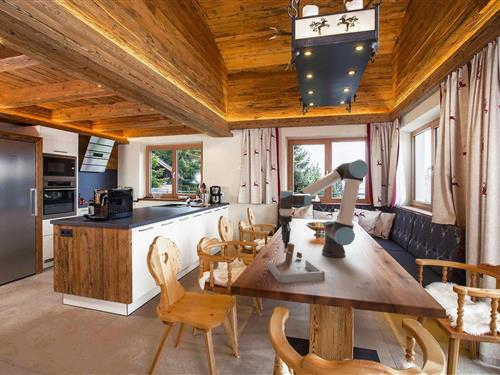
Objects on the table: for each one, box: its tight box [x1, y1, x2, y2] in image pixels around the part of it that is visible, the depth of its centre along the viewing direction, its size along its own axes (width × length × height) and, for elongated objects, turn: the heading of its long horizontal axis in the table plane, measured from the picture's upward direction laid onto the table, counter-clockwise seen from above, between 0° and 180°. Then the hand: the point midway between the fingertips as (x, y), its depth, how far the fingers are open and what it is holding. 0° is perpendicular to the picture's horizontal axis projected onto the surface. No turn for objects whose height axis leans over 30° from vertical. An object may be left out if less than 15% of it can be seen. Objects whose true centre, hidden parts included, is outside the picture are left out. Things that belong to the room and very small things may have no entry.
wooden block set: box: [284, 242, 303, 265], centre depth 157 cm, size 18×9×10 cm, turn 151°
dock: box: [268, 259, 326, 284], centre depth 137 cm, size 24×22×4 cm
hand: (285, 252), depth 159 cm, fingers closed
